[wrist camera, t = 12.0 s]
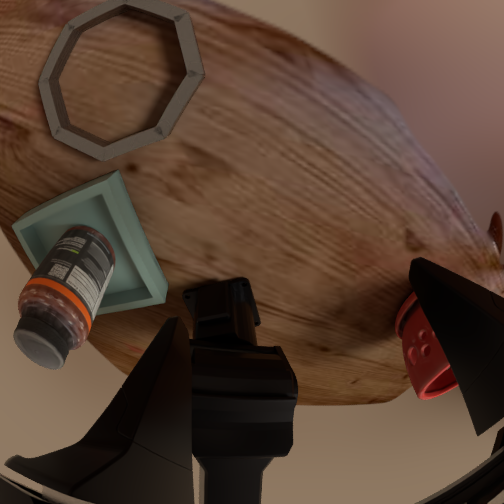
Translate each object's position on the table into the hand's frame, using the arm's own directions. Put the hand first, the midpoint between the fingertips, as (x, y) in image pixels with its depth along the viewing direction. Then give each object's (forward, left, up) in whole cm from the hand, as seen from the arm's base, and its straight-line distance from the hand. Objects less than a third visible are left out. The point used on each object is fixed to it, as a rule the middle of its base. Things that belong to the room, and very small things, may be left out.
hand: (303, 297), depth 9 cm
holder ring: (+11, +8, -13) cm, 19 cm away
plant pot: (-21, -19, -13) cm, 31 cm away
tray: (-2, +16, -13) cm, 21 cm away
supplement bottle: (-2, +16, -13) cm, 20 cm away
